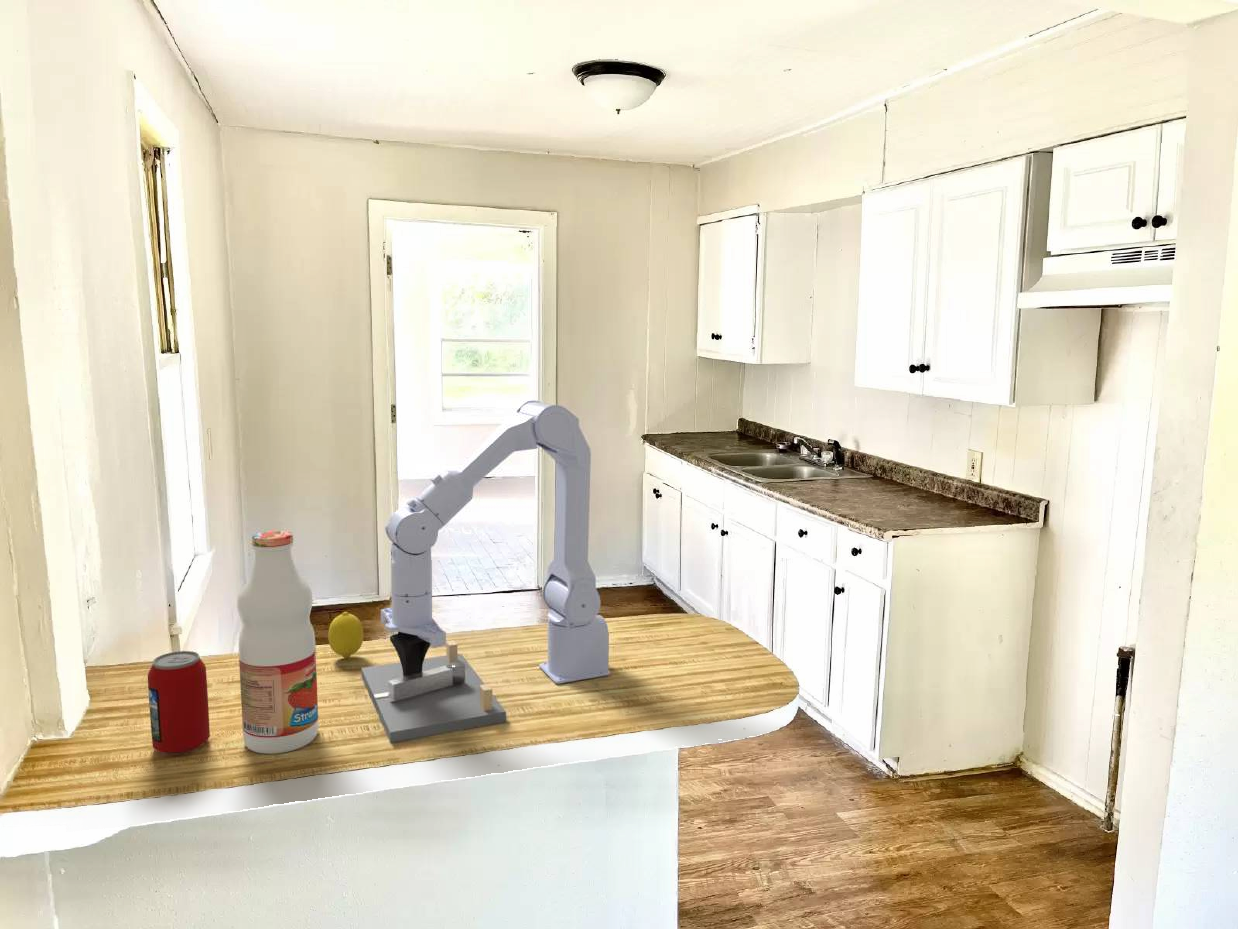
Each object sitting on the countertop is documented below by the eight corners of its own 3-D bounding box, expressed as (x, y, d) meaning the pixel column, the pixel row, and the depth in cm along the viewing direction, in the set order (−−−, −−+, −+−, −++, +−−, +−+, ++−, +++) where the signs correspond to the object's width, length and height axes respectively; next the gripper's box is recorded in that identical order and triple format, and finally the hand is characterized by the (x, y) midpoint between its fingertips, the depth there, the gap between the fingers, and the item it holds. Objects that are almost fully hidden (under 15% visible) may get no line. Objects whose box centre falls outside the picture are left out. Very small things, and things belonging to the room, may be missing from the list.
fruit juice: (251, 726, 119) (240, 527, 114) (322, 720, 121) (315, 525, 116) (236, 759, 110) (224, 544, 105) (314, 752, 112) (305, 542, 107)
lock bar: (459, 676, 132) (459, 660, 132) (468, 681, 130) (468, 666, 129) (386, 696, 124) (386, 679, 124) (395, 702, 122) (395, 686, 122)
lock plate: (461, 662, 143) (460, 636, 142) (506, 721, 121) (505, 691, 121) (361, 677, 136) (360, 649, 135) (390, 743, 114) (389, 711, 114)
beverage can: (166, 734, 116) (160, 649, 114) (218, 733, 116) (213, 648, 115) (143, 759, 109) (136, 669, 107) (198, 758, 110) (192, 668, 108)
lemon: (353, 666, 140) (352, 619, 139) (322, 663, 141) (320, 616, 140) (370, 654, 146) (368, 608, 144) (340, 651, 147) (338, 605, 145)
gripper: (361, 585, 127) (363, 673, 129) (414, 609, 117) (415, 703, 119) (404, 576, 132) (405, 661, 134) (458, 598, 122) (458, 690, 124)
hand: (412, 680), depth 127 cm, fingers closed, pressing on lock bar
